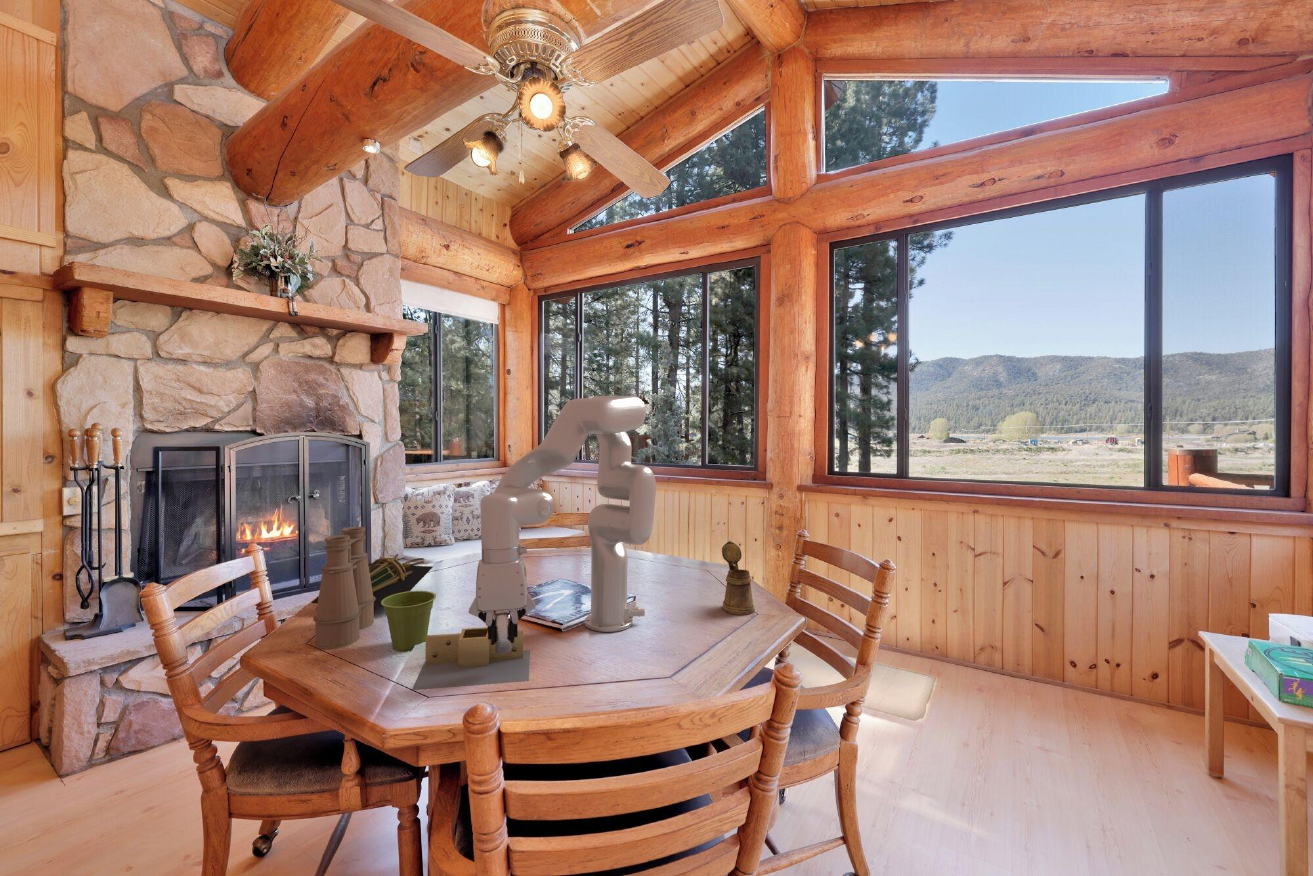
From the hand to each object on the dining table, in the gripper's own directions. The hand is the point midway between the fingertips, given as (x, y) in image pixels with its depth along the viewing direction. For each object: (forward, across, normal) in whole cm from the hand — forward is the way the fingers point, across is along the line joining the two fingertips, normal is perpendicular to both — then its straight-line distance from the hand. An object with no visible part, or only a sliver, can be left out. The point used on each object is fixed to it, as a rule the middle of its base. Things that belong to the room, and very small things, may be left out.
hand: (503, 640), depth 114 cm
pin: (+2, 0, 0) cm, 2 cm away
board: (+8, +6, -2) cm, 10 cm away
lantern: (+9, +39, -58) cm, 71 cm away
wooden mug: (+11, -63, -34) cm, 72 cm away
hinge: (+7, +6, -7) cm, 11 cm away
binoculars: (+8, +40, -32) cm, 51 cm away
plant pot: (+8, +23, -20) cm, 32 cm away
